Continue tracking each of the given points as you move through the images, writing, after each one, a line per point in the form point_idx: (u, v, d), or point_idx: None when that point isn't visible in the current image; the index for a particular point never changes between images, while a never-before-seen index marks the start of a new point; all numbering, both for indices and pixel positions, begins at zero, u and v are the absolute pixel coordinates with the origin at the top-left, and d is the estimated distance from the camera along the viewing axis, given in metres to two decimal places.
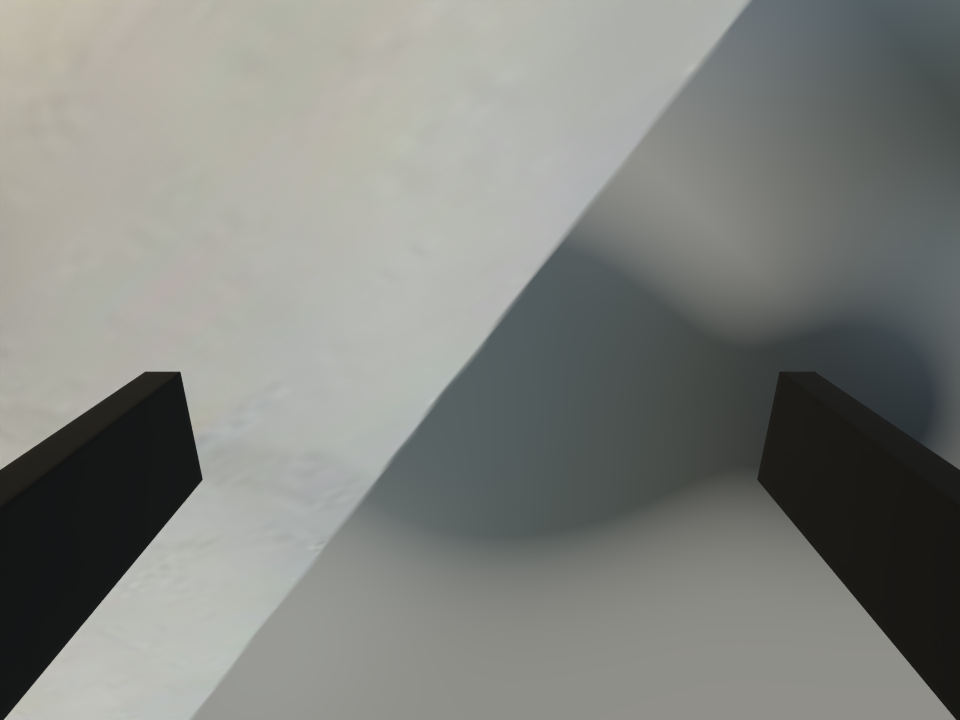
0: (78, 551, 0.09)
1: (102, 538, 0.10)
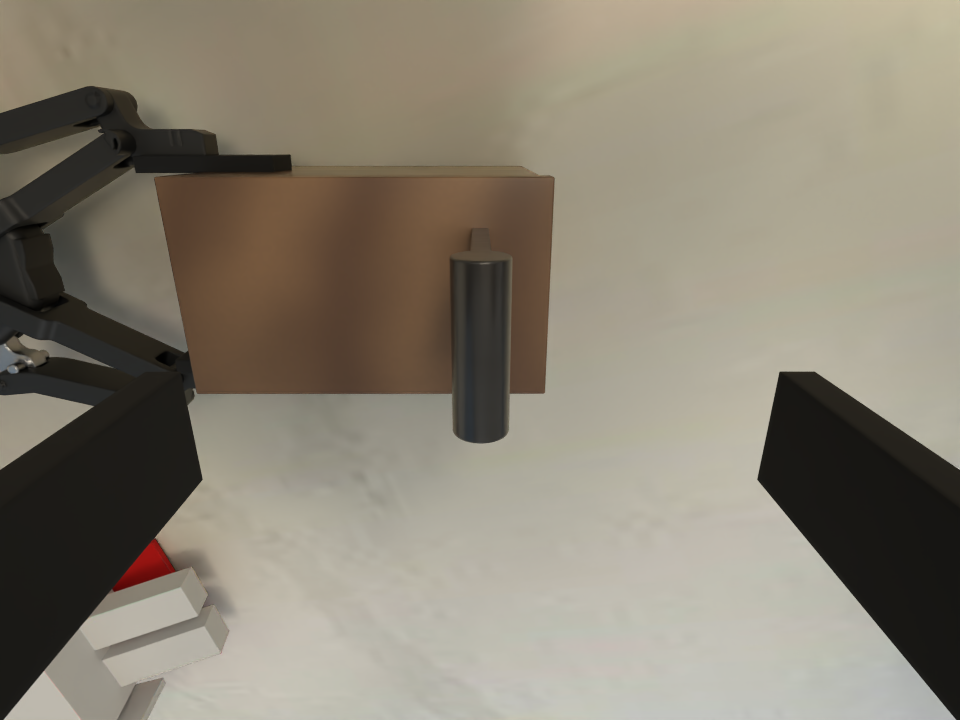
0: (78, 551, 0.09)
1: (102, 538, 0.10)
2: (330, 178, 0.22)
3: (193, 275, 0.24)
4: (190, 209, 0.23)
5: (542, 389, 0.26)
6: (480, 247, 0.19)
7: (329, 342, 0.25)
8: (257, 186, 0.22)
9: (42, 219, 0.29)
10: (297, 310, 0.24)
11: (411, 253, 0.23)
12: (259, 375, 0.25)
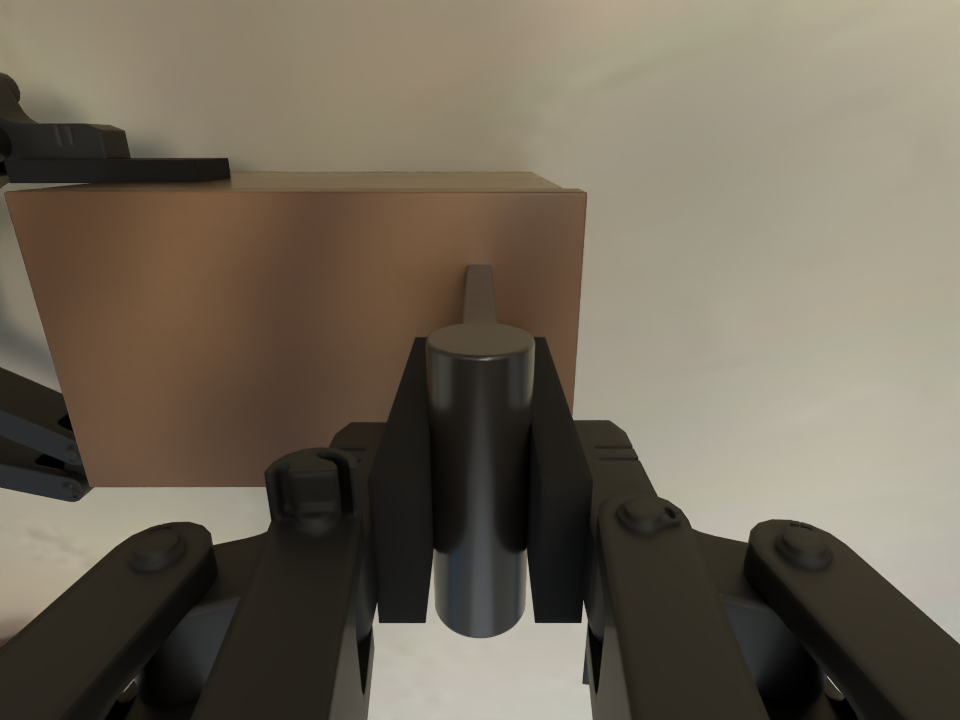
0: None
1: None
2: (261, 194, 0.15)
3: (72, 330, 0.17)
4: (61, 238, 0.16)
5: None
6: (479, 309, 0.12)
7: (269, 420, 0.18)
8: (154, 205, 0.15)
9: None
10: (222, 377, 0.17)
11: (381, 299, 0.16)
12: (173, 462, 0.18)
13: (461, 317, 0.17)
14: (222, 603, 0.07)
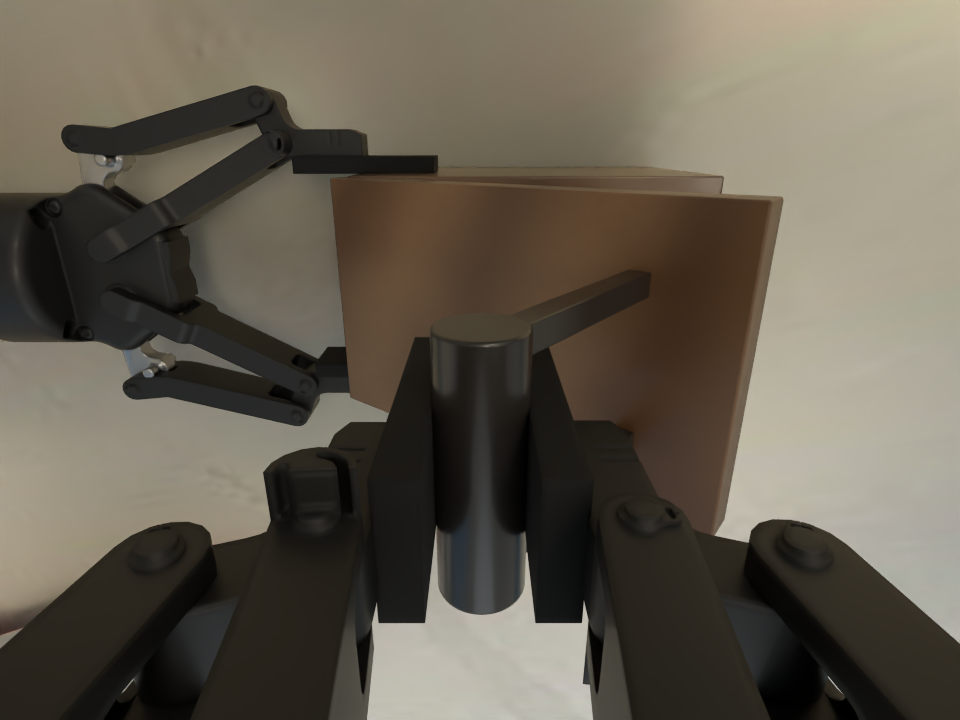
0: None
1: None
2: (468, 186, 0.18)
3: (352, 280, 0.23)
4: (353, 212, 0.22)
5: (708, 533, 0.16)
6: (547, 307, 0.12)
7: None
8: (403, 193, 0.20)
9: (185, 221, 0.28)
10: (429, 336, 0.21)
11: (547, 292, 0.17)
12: (394, 395, 0.23)
13: (616, 323, 0.16)
14: (221, 603, 0.07)
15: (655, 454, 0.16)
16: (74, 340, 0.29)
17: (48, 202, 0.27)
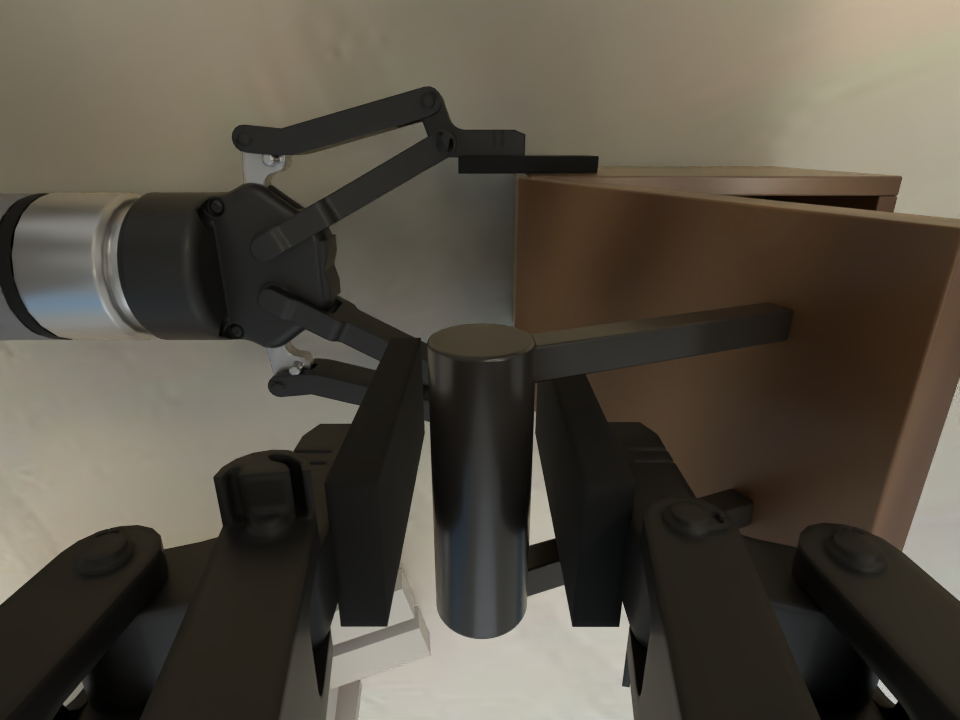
0: (404, 474, 0.11)
1: (408, 467, 0.12)
2: (623, 191, 0.17)
3: (524, 279, 0.23)
4: (531, 212, 0.22)
5: None
6: (594, 331, 0.10)
7: None
8: (569, 195, 0.19)
9: None
10: None
11: None
12: None
13: (748, 365, 0.13)
14: (169, 608, 0.07)
15: (775, 537, 0.13)
16: (225, 338, 0.29)
17: (210, 201, 0.27)
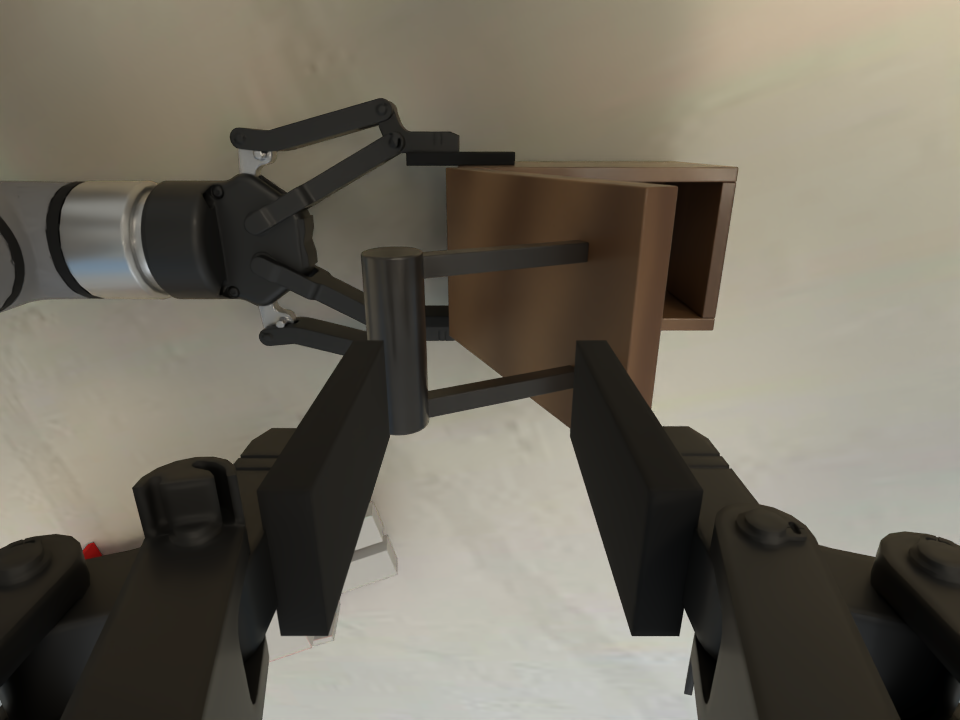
0: (356, 479, 0.11)
1: (362, 472, 0.11)
2: (506, 174, 0.24)
3: (452, 244, 0.31)
4: (454, 193, 0.29)
5: None
6: (461, 250, 0.18)
7: (496, 324, 0.27)
8: (477, 178, 0.27)
9: (315, 203, 0.36)
10: (486, 289, 0.28)
11: None
12: (469, 334, 0.31)
13: (572, 281, 0.21)
14: (85, 620, 0.07)
15: None
16: (225, 297, 0.37)
17: (213, 187, 0.35)
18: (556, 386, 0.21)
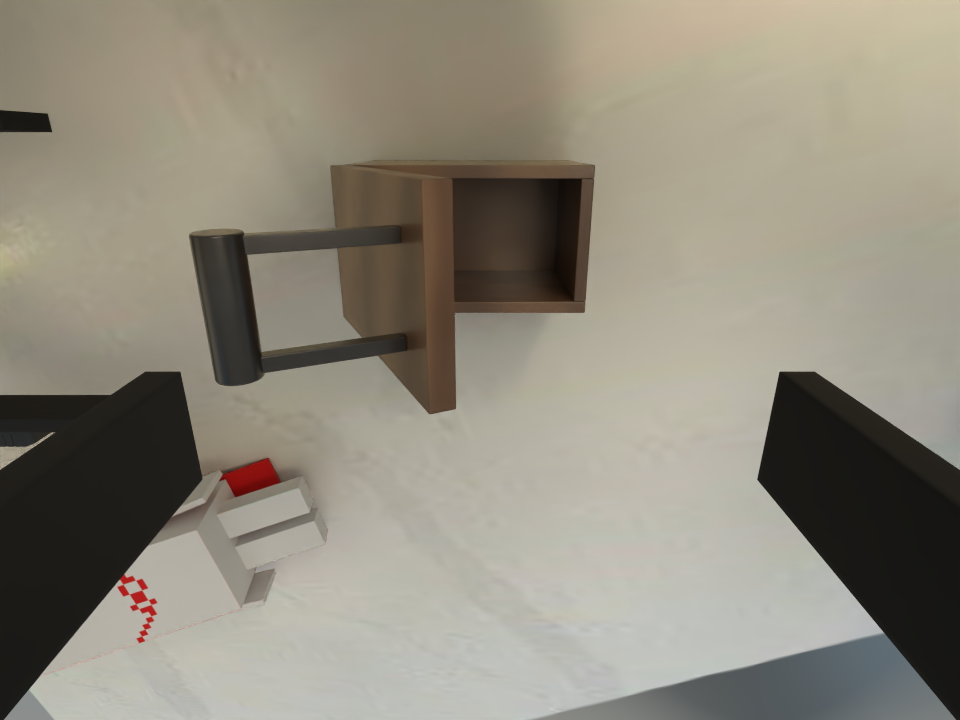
0: (78, 551, 0.09)
1: (102, 538, 0.10)
2: (359, 171, 0.28)
3: None
4: (336, 188, 0.33)
5: (428, 409, 0.24)
6: (281, 232, 0.22)
7: (365, 302, 0.31)
8: (345, 175, 0.30)
9: None
10: (358, 272, 0.31)
11: None
12: (353, 314, 0.34)
13: (396, 260, 0.24)
14: None
15: (412, 352, 0.25)
16: None
17: None
18: (384, 349, 0.25)
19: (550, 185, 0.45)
